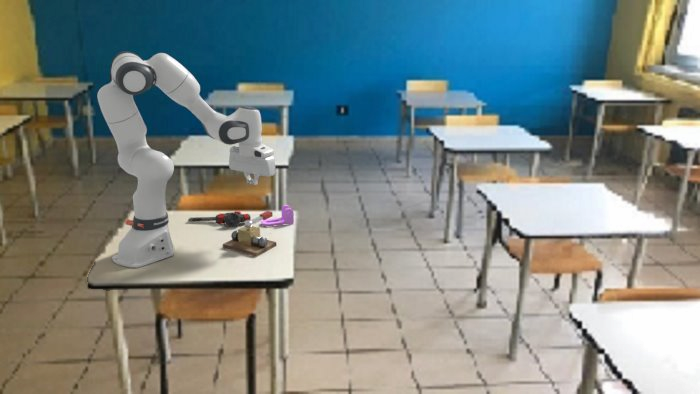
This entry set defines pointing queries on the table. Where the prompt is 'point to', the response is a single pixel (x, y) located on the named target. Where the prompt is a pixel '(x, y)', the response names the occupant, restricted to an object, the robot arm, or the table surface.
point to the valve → (225, 218)
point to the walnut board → (248, 248)
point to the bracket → (285, 219)
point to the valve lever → (258, 219)
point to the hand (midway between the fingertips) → (252, 183)
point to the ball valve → (249, 237)
